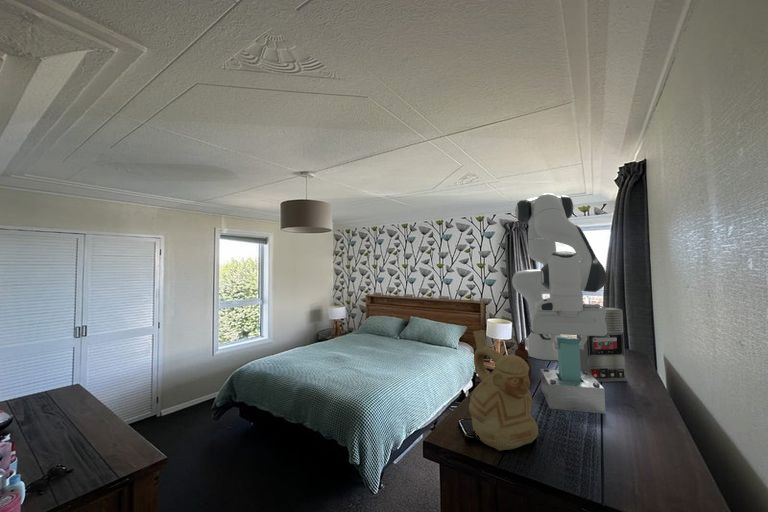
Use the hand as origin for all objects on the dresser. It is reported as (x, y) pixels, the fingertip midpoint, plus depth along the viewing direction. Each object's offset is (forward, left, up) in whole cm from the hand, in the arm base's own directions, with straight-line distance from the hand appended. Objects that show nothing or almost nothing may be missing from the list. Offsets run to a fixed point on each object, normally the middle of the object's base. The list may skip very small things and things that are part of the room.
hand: (568, 349), depth 97 cm
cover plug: (0, 0, -10) cm, 10 cm away
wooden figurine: (-15, -12, -16) cm, 25 cm away
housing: (0, 0, -16) cm, 16 cm away
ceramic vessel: (+26, -21, -16) cm, 37 cm away
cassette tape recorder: (-22, +15, -16) cm, 31 cm away
